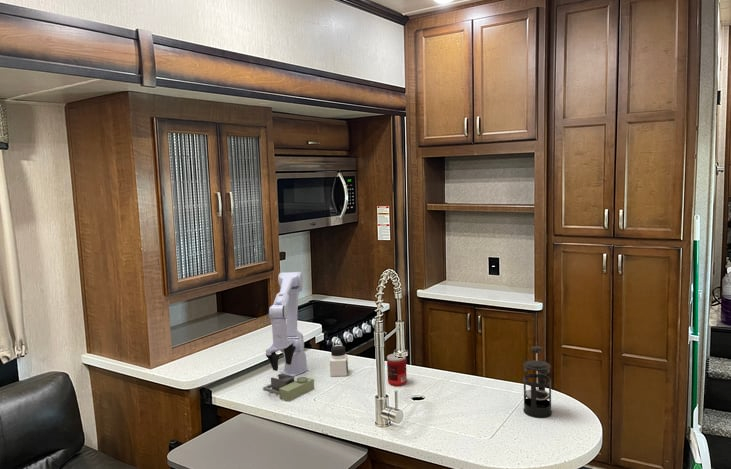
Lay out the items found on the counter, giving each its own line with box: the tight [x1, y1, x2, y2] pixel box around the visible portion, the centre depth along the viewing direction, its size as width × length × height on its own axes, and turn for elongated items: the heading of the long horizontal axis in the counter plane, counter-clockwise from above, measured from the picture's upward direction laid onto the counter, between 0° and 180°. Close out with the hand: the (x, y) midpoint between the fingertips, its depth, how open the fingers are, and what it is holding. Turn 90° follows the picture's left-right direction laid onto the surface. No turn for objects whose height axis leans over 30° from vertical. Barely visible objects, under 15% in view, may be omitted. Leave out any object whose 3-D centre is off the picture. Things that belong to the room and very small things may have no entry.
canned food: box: [386, 353, 408, 387], centre depth 212 cm, size 8×8×11 cm
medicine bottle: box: [329, 344, 349, 378], centre depth 225 cm, size 7×7×12 cm
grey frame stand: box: [262, 376, 315, 402], centre depth 209 cm, size 14×17×5 cm
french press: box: [522, 345, 553, 419], centre depth 180 cm, size 12×9×23 cm
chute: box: [270, 373, 295, 391], centre depth 211 cm, size 8×5×5 cm, turn 55°
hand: (282, 367), depth 210 cm, fingers open, 7 cm apart
